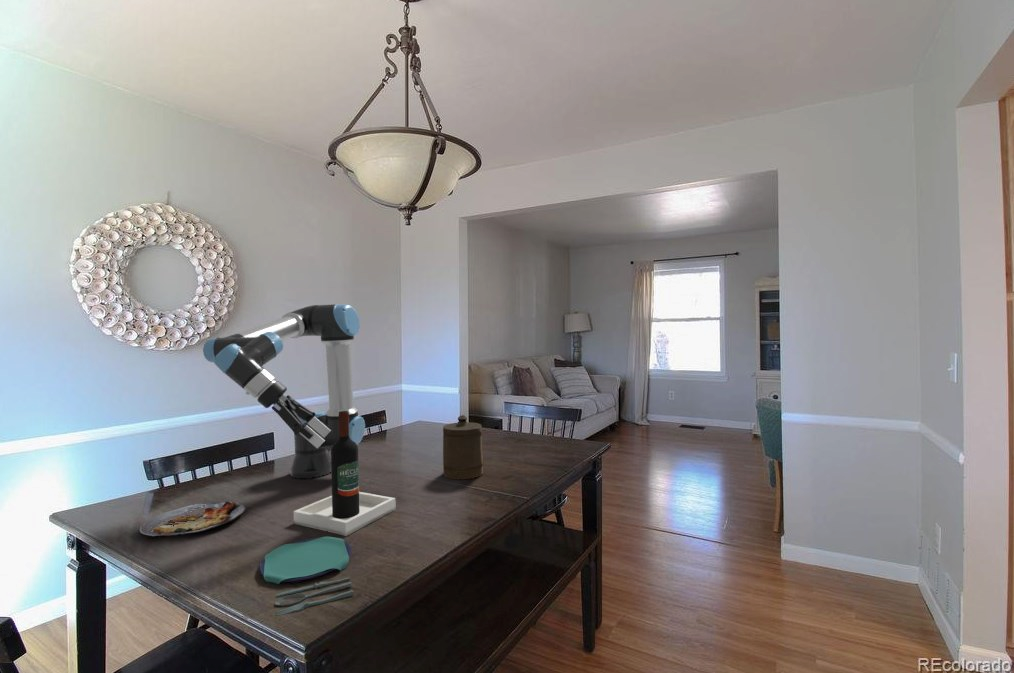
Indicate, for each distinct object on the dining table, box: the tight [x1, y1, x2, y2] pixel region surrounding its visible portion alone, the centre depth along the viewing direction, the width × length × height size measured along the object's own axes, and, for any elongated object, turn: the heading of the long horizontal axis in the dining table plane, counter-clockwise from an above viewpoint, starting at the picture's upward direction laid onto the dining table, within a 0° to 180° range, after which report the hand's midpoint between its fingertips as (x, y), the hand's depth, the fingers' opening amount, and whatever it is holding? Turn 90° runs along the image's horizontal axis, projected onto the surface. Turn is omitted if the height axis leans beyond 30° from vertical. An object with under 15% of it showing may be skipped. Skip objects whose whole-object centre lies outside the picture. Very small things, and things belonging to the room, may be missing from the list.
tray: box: [292, 491, 397, 537], centre depth 138 cm, size 20×20×4 cm
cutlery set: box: [258, 536, 355, 617], centre depth 106 cm, size 20×30×2 cm, turn 25°
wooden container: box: [442, 414, 484, 480], centre depth 177 cm, size 15×15×22 cm
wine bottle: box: [330, 411, 360, 519], centre depth 138 cm, size 8×8×30 cm
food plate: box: [139, 500, 247, 537], centre depth 136 cm, size 25×23×4 cm
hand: (324, 439), depth 136 cm, fingers open, 13 cm apart
